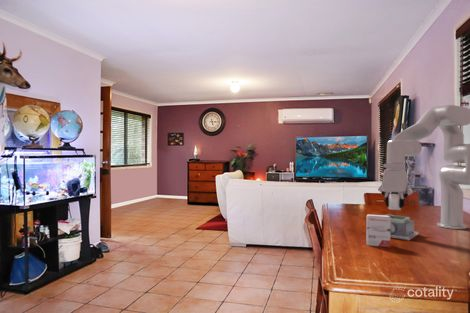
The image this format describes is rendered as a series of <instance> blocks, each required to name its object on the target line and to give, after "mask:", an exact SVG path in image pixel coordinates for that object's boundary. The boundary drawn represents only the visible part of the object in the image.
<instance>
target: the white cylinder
mask: <svg viewBox="0 0 470 313" xmlns="http://www.w3.org/2000/svg"><path fill="white" fill-rule="evenodd" d="M400 199H401V196H400V193H399V192H390V193H389V206H388V208H387V209H388V210H391V211H392V210H393V211H401V209H402V208H400V207H399V203H400Z"/></svg>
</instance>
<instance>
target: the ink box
mask: <svg viewBox="0 0 470 313" xmlns="http://www.w3.org/2000/svg"><path fill="white" fill-rule="evenodd" d="M386 215H387V214H383V215H382V214H366V232H365V233H366V236H365V237H366V245H367V246H371V247H382V248H391V238H392V237H391V218H390V216H386Z"/></svg>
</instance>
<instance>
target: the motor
mask: <svg viewBox="0 0 470 313" xmlns="http://www.w3.org/2000/svg"><path fill="white" fill-rule="evenodd" d="M385 215H386V216H390V218H391V238H393V239H397V240H398V239H399V240H406V241H411V240H412V239H413V238H415V237H416V236H418V235H419V231H415V220H411V217H410V216H402V215H395V214H385Z"/></svg>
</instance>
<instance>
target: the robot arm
mask: <svg viewBox="0 0 470 313" xmlns="http://www.w3.org/2000/svg"><path fill="white" fill-rule="evenodd" d="M468 125H470V108H468V107H465V106H461V105H460V106H459V105H455V104H454V105H453V104H445V105H436V106H433V107H430V108H428V109H427V110H426V111H425V112H424V113H423V114H422V116H421V117H420V118H419V119H418V120H417V121H416V123H414V124H412V125H411V126H409V127H407V128H406V129H404V130H402V131H400V132H399V133H397V134H396V135H395V136H394V137H393V138H392V139H390V140H388V141H387V144H386V163H384V164H383V168H386V169H383V170H384V171H383V175H382V182H381V185H380V186H379V187H378V188H377V191H379V192H380V193H381V194H382V195H383V196H384V198H385V200H384V202H385V203H384V204H385V206H386V207H389V193H392V192H398V194H400V196H401V199H400V203H399V207H400V208H401V209H402V208H404V206H405V199H406V198H408V196H410V195H412V194H413V193H414V191H413V189H412V188H411V187H410V186H409V179H408V173H407V170H406V166H405V165H406V157H416V156H419V155H420V154H421V152H422V150H423V149H422V148H423V147H422V144H421V143H420V142H419V140H423V139H425V138H427V137H430V136H432V134H433V133H434V131H435V130H436V129H437V128H438V127H439V129H440V130H441V132H442V133H443V159H444V161H446V163H447V162H448V163H454V165H453V164H449V165H444V166H442V167H441V168H440V170H439V173H438V177H439V182H440V194H441V195H440V222H437V223H436V226H438V227H441V228H444V229H450V230H451V229H452V230H466V229H467V225H466V224H464V192H463V188H461V186H462V185H463V186H470V143H465V142H464V140H465V139H464V138H465V136H464V132H463V131H462V129H461V128H460V127H462V126H468ZM455 164H456V165H455ZM457 164H458V165H457ZM459 164H465V165H459ZM460 185H461V186H460Z"/></svg>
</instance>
